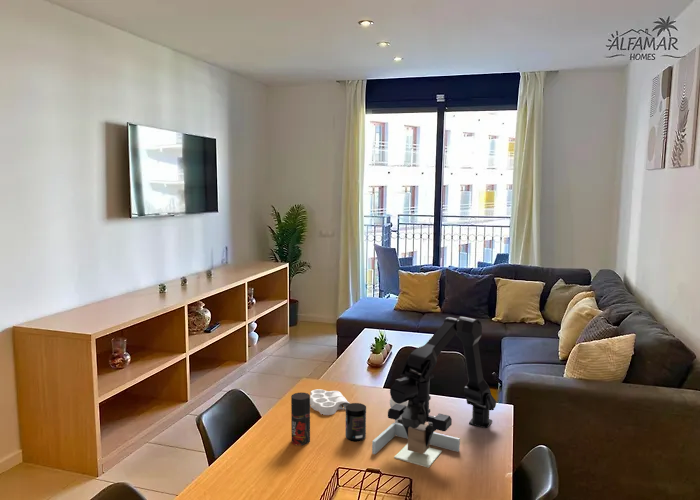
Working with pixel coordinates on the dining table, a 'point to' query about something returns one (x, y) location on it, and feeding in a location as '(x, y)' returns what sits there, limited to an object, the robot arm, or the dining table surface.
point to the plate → (418, 456)
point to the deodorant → (300, 418)
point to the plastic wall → (400, 431)
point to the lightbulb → (397, 403)
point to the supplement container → (355, 422)
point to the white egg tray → (327, 401)
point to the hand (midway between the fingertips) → (418, 443)
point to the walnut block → (417, 439)
